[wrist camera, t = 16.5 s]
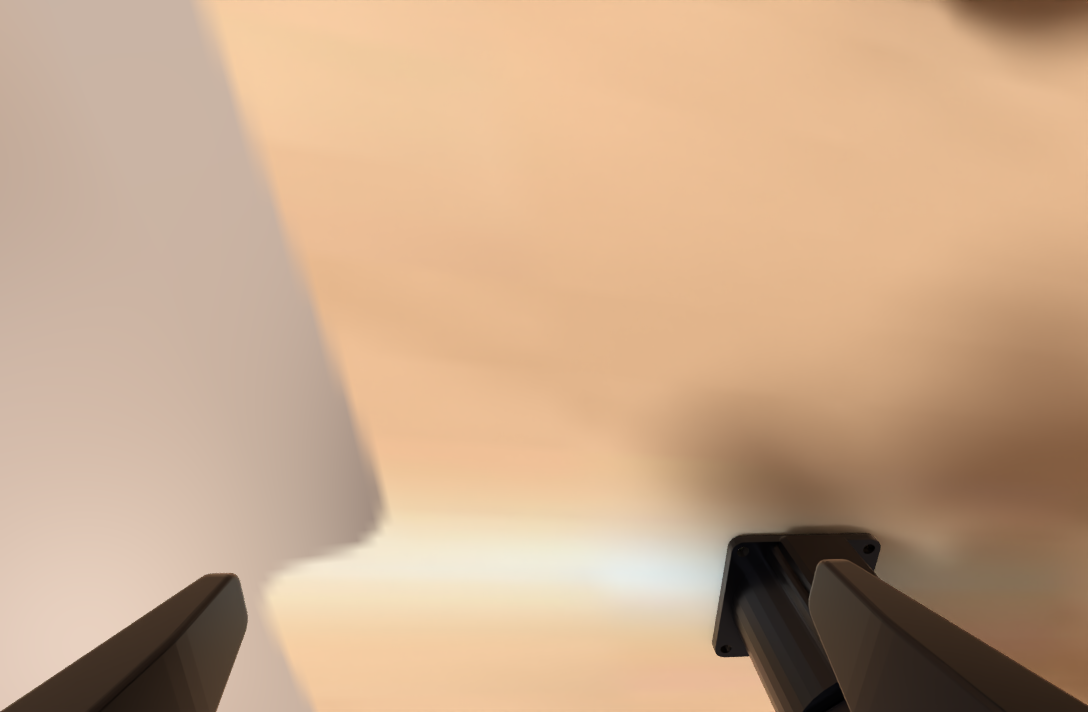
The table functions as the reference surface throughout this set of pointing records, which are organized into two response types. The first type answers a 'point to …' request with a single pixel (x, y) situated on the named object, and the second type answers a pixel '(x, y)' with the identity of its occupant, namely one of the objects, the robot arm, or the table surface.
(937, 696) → the robot arm
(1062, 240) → the table surface
